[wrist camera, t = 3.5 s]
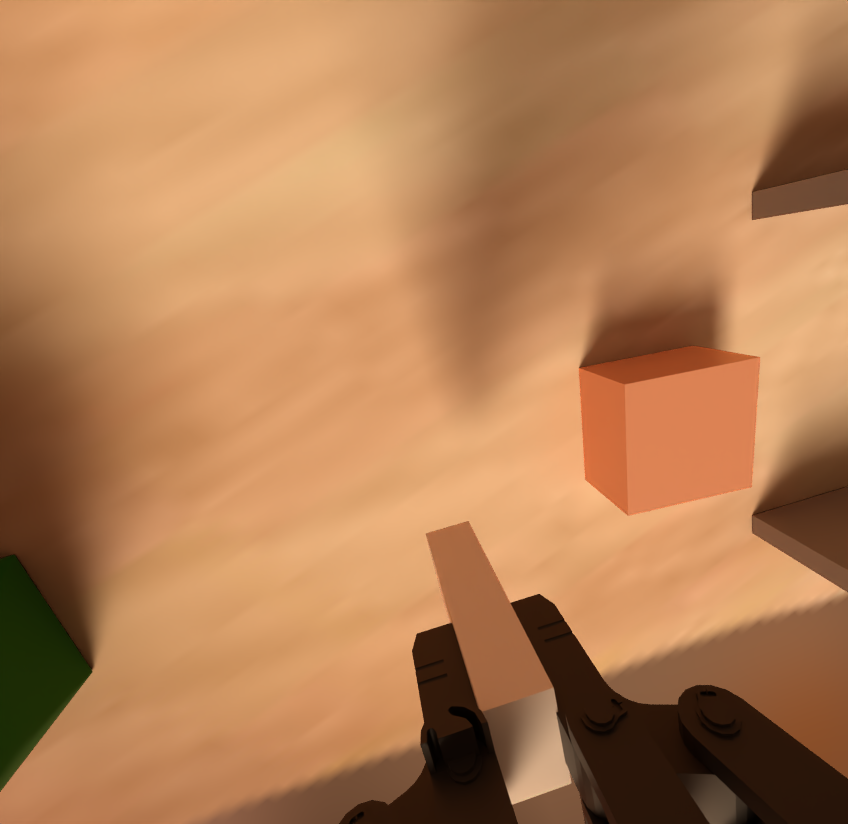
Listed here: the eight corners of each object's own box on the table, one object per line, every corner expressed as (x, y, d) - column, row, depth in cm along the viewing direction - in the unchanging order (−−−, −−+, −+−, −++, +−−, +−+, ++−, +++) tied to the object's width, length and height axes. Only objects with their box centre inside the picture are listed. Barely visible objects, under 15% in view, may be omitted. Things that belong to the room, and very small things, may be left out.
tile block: (690, 345, 22) (759, 357, 18) (688, 455, 24) (751, 487, 20) (576, 367, 21) (624, 384, 18) (583, 478, 23) (628, 515, 19)
